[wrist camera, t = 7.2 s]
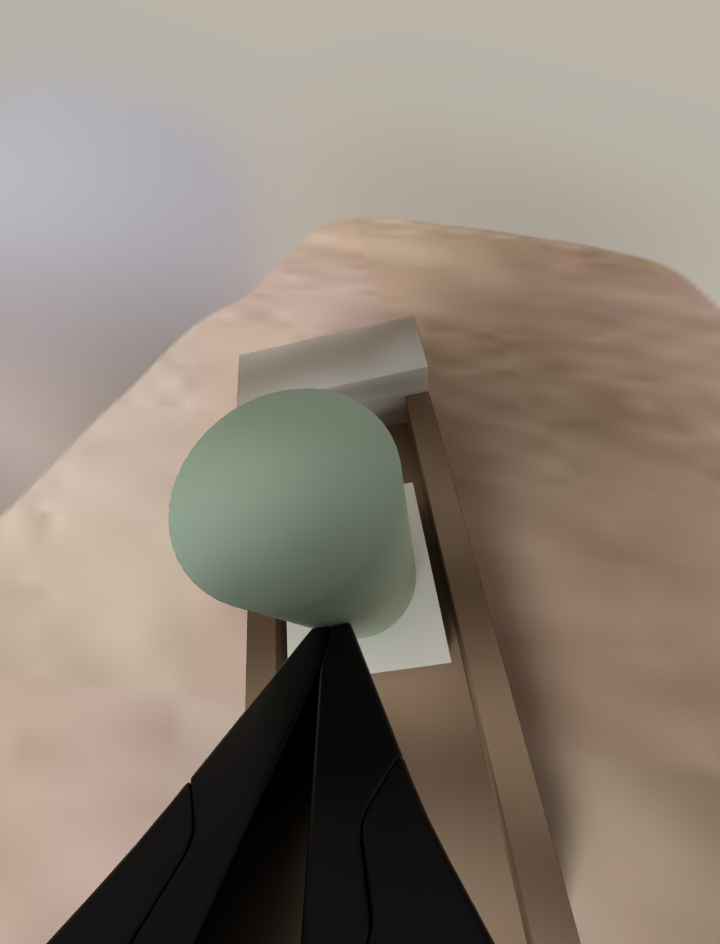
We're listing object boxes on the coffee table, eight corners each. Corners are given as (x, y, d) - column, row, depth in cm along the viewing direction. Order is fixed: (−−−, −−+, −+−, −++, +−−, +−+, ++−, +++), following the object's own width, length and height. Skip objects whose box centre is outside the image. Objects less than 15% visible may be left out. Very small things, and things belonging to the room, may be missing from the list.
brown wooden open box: (560, 951, 10) (657, 1164, 6) (289, 969, 11) (198, 1172, 7) (416, 388, 20) (412, 313, 16) (278, 416, 21) (239, 352, 17)
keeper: (448, 662, 12) (484, 664, 4) (307, 682, 13) (105, 717, 5) (414, 502, 15) (398, 326, 7) (299, 523, 16) (165, 378, 8)
